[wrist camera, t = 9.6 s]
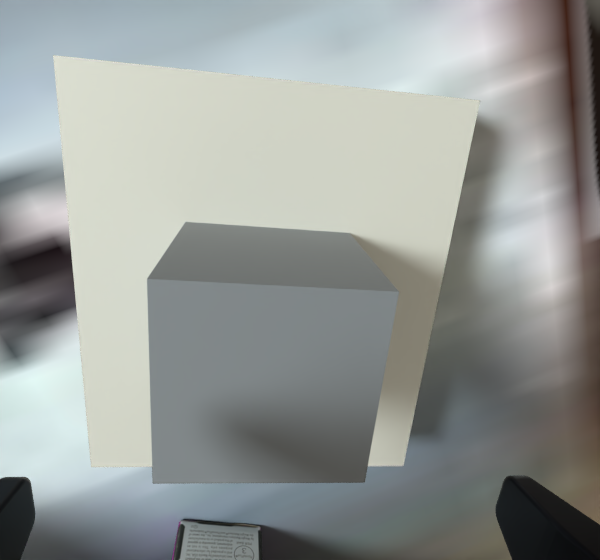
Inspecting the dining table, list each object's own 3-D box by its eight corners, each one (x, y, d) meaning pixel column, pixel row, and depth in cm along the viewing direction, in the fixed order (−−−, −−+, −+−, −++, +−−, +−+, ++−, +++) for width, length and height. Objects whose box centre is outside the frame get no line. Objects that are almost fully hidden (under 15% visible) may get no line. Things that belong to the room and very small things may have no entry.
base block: (385, 424, 23) (403, 465, 20) (112, 422, 22) (90, 467, 19) (445, 103, 18) (480, 100, 15) (88, 66, 16) (53, 55, 13)
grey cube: (330, 371, 18) (364, 482, 13) (184, 367, 18) (152, 483, 12) (349, 232, 16) (399, 291, 11) (185, 221, 16) (147, 278, 10)
